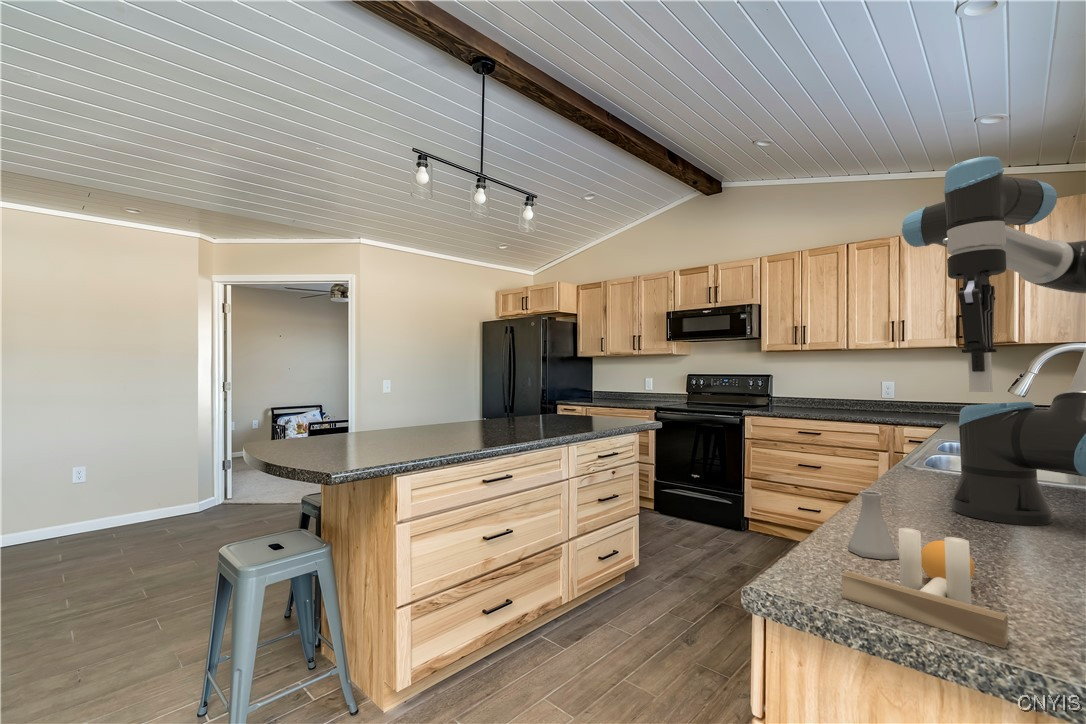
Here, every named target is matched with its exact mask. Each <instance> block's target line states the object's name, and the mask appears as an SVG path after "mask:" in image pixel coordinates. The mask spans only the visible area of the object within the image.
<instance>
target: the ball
mask: <svg viewBox="0 0 1086 724" xmlns="http://www.w3.org/2000/svg"><path fill="white" fill-rule="evenodd" d="M921 558H922V571H924V573H925V574H926V576H928V578H930V580H932V579H933V578H936V577H941V578H944V579H946V565H945V539H943V540H933V541H930V542H928V543H927V544H925V545H924V546H923V547H922V548H921ZM975 567H976V566H975V563H974V560H973V558H972V555H970V578H971V580H972V579H973V576H974V575H975V571H976V569H975Z"/></svg>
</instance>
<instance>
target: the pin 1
mask: <svg viewBox="0 0 1086 724" xmlns="http://www.w3.org/2000/svg"><path fill="white" fill-rule="evenodd" d="M921 535H922V534H921V531H920V530H918V529H915V528H909V527H899V528H898V550H899V551H898V552H899V554H898V556H899V581H900V582H899V583H900V584H899V585H901V586H905V587H908V588H912V589H916V590H920V589H922V588H923V587H924V585H923V568H922V558H921V550H922V537H921Z"/></svg>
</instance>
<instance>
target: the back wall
mask: <svg viewBox="0 0 1086 724" xmlns="http://www.w3.org/2000/svg"><path fill="white" fill-rule="evenodd" d="M841 591H842V593H841V594H842V595H841V598H842V599H846V600H848V601H852V602H854V603H859V604H861V605H865V606H867V607H871V608H873V609H878V610H879V611H880V610H881V611H883V612H887V613H890V614H893V615H897V616H900V617H903V618H906V619H910V620H913V621H916V622H919V623H922V624H924V625H925V624H926V625H928V626H932V627H935V628H938V629H941V630H945V631H949V632H951V633H954V634H957V635H960V636H962V637H963V636H964V637H968V638H970V639H974V640H977V641H980V642H983V643H987V644H989V645H992V646H996V647H999V648H1002V649H1006V647H1007V645H1008V644H1009V627H1008V626H1009V624H1008V622H1009V621H1008V619H1009V618H1008V614H1006V613H1003V612H999V611H996V610H992V609H988V608H986V607H985V608H984V607H981V606H977V605H974V604H972V603H971V604H967V603H963V602H960V601H956V600H952V599H949V598H945V597H941V596H938V595H934V594H930V593H927V592H923V591H919V590H916V589H912V588H908V587H905V586H901V585H900V584H897V583H894V582H891V581H885V580H883V579H882V580H881V579H878V578H874V577H871V576H868V575H864V574H861V573H857V572H852V571H849V570H847V571H845V572H844V573H842V574H841Z"/></svg>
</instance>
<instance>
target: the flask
mask: <svg viewBox="0 0 1086 724" xmlns="http://www.w3.org/2000/svg"><path fill="white" fill-rule="evenodd" d="M859 495H860V497H861V507H860V512H859V513H860V514H859V516H858V519H857V521H856V524H855V528H854V530H853V532H852V535H851V537H850V538H849V539H850V540H849V541H848V546H847V548H848V551H849V552H851V553H854V554H856V555H857V556H860V557H863V558H869V559H876V560H895V559H896V560H898V559H899V554H898V551H897V548H896V545H895V544H894V541H893V539H892V537H891V535H890V532H889V529H888V527H887V524H886V522H885V519H884V515H883V511H882V507H881V499H882V498H883V493H882V492H879V491H875V490H860V491H859ZM899 560H900V559H899Z"/></svg>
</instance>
